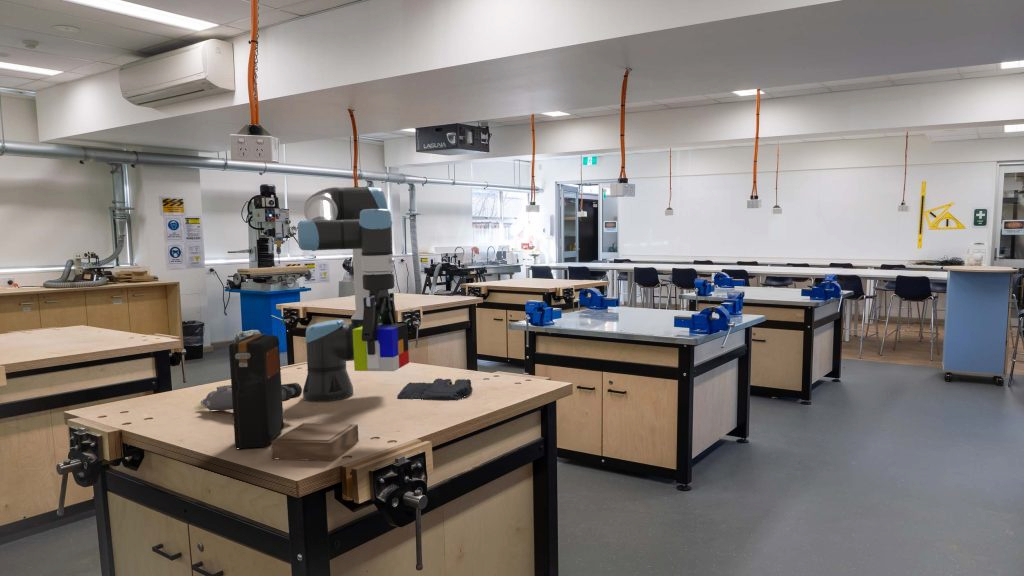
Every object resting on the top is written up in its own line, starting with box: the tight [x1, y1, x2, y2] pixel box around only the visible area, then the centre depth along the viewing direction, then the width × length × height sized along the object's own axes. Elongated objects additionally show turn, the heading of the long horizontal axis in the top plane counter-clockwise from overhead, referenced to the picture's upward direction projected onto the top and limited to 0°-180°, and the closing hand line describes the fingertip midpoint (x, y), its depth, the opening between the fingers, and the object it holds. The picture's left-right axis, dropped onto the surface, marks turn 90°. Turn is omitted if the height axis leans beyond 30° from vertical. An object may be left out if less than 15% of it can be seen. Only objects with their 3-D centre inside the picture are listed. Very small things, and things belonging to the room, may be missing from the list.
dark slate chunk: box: [396, 377, 473, 401], centre depth 196 cm, size 15×22×5 cm
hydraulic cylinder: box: [200, 382, 303, 411], centre depth 178 cm, size 7×37×10 cm, turn 65°
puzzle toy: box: [353, 323, 410, 372], centre depth 155 cm, size 10×10×10 cm
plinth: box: [270, 422, 360, 462], centre depth 145 cm, size 14×14×4 cm
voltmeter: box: [228, 333, 285, 449], centre depth 153 cm, size 16×9×25 cm, turn 5°
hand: (382, 363), depth 156 cm, fingers closed on puzzle toy, 10 cm apart
